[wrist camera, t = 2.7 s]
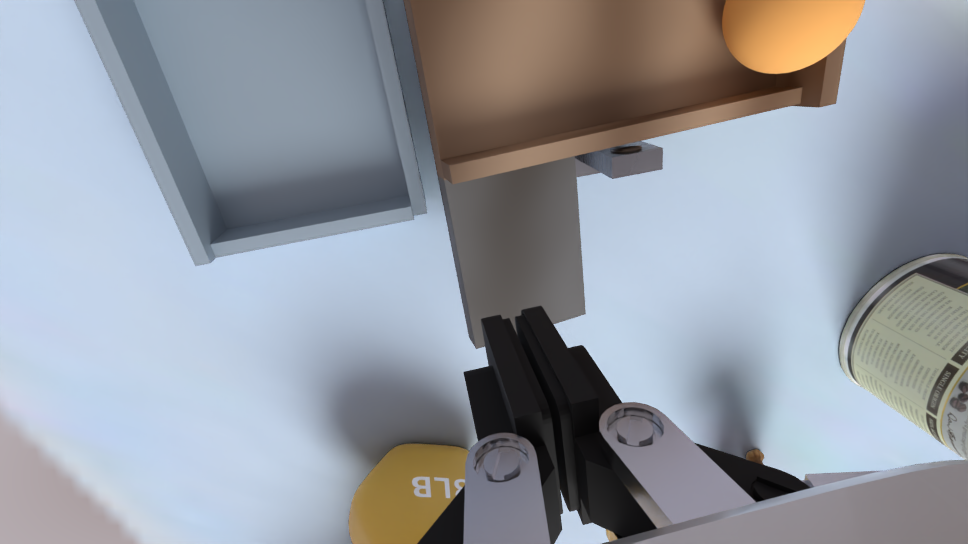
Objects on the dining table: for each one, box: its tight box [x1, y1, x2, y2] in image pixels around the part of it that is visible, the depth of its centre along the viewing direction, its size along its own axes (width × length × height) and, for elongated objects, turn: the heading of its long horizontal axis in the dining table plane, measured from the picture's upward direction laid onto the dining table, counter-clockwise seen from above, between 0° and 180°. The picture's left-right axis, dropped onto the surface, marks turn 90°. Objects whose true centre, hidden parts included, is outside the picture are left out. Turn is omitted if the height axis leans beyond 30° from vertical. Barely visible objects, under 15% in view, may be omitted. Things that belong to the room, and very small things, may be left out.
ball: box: [722, 0, 865, 74], centre depth 16 cm, size 4×4×4 cm
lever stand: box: [575, 141, 663, 179], centre depth 18 cm, size 4×12×6 cm, turn 9°
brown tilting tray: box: [404, 0, 847, 349], centre depth 18 cm, size 15×14×4 cm
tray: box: [74, 0, 427, 266], centre depth 18 cm, size 10×12×3 cm
